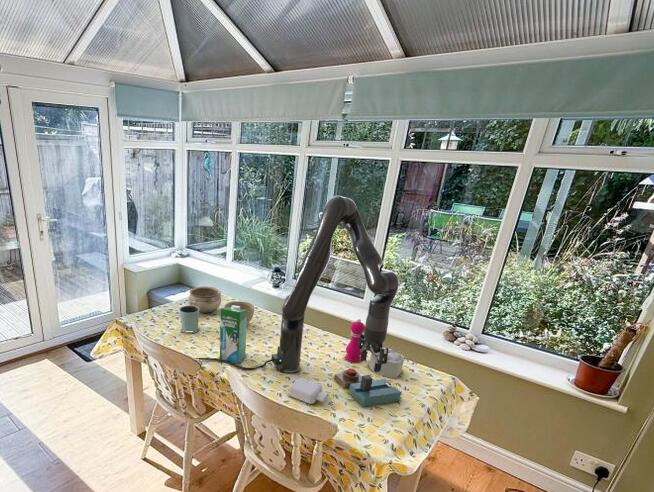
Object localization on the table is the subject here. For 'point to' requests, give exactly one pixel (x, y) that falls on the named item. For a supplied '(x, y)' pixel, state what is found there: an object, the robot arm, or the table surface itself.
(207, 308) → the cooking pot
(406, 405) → the table surface
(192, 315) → the grey-green cylindrical pot
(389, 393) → the control base
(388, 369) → the lumpy-topped squat cylinder
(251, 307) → the planter bowl
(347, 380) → the panel
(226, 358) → the milk carton
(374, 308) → the robot arm
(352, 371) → the button
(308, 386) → the charger
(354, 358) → the pepper mill
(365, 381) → the slider
